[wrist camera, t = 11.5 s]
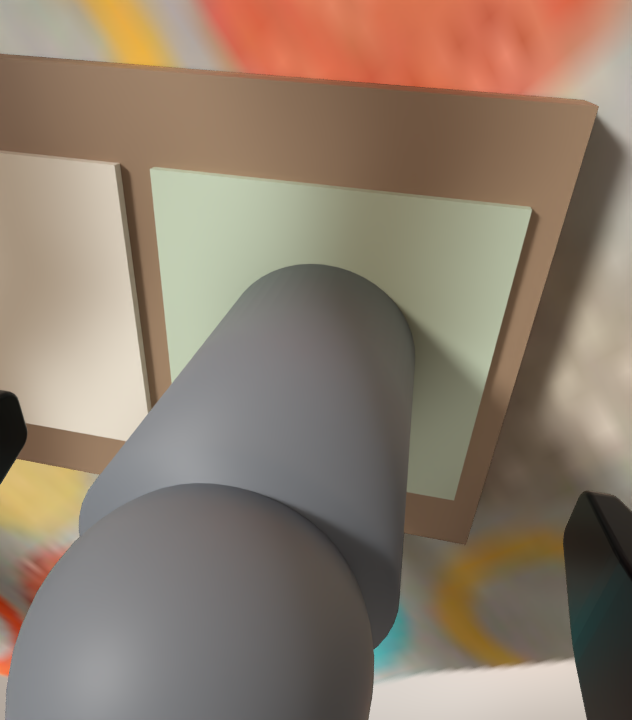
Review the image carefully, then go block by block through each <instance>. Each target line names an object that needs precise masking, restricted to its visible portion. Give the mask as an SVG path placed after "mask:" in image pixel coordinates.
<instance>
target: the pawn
mask: <svg viewBox="0 0 632 720" xmlns="http://www.w3.org/2000/svg"><path fill="white" fill-rule="evenodd" d="M414 371H415V346H414V341H413V336H412V333H411V330H410V328H409V325H408V323H407V321H406V319H405V317H404V315H403V313H402V312H401V311H400V309H399V308H398V306H397V305H396V304H395V302H394V301H393V300H392V299H391V298H390V297H389V296H388V295H387V294H386V293H385V292H384V291H383V290H381V289H380V288H379V287H378V286H376V285H375V284H374V283H372V282H370V281H369V280H367V279H366V278H364V277H362V276H360V275H358V274H356V273H353V272H351V271H348V270H345V269H342V268H339V267H334V266H329V265H323V264H299V265H293V266H288V267H284V268H281V269H278V270H275V271H272V272H270V273H268V274H267V275H265V276H263V277H261V278H260V279H258V280H257V281H255V282H254V283H253V284H252V285H250V286H249V287H248V288H247V289H246V290H245V291H244V292H243V294H242V295H241V296H240V298H239V299H238V300H237V301H236V303H235V304H234V305H233V306H232V308H231V309H230V310H229V311H228V313H227V314H226V315H225V317H224V318H223V319H222V320H221V322H220V323H219V324H218V325H217V327H216V328H215V329H214V331H213V332H212V333H211V334H210V336H209V337H208V338H207V339H206V341H205V342H204V343H203V345H202V346H201V347H200V348H199V350H198V351H197V352H196V353H195V355H194V356H193V357H192V359H191V360H190V361H189V362H188V364H187V365H186V366H185V367H184V369H183V370H182V371H181V372H180V374H179V375H178V376H177V378H176V379H175V380H174V381H173V383H172V384H171V385H170V386H169V388H168V389H167V390H166V392H165V393H164V394H163V395H162V397H161V398H160V399H159V400H158V402H157V403H156V404H155V406H154V407H153V408H152V409H151V411H150V412H149V413H148V414H147V416H146V417H145V418H144V419H143V421H142V422H141V423H140V425H139V426H138V427H137V428H136V430H135V431H134V432H133V433H132V435H131V436H130V437H129V439H128V440H127V441H126V442H125V444H124V445H123V446H122V447H121V449H120V450H119V451H118V453H117V454H116V455H115V456H114V458H113V459H112V460H111V461H110V463H109V464H108V465H107V467H106V468H105V469H104V470H103V472H102V473H101V474H100V475H99V477H98V478H97V479H96V481H95V482H94V483H93V485H92V486H91V487H90V489H89V490H88V492H87V494H86V496H85V498H84V501H83V503H82V507H81V511H80V516H79V534H80V537H79V538H78V539H77V540H76V541H75V542H74V543H73V544H72V545H71V547H70V548H69V549H68V550H67V551H66V552H65V554H64V555H63V556H62V557H61V558H60V560H59V561H58V562H57V563H56V565H55V566H54V567H53V568H52V570H51V571H50V573H49V574H48V576H47V577H46V579H45V580H44V582H43V583H42V585H41V587H40V588H39V590H38V591H37V593H36V595H35V598H34V600H33V602H32V604H31V606H30V608H29V610H28V612H27V614H26V617H25V619H24V621H23V623H22V626H21V629H20V632H19V635H18V638H17V641H16V644H15V647H14V650H13V655H12V660H11V665H10V671H9V676H8V683H7V689H6V712H5V720H368V718H369V712H370V706H371V700H372V693H373V679H374V652H373V649H375V648H376V647H377V646H378V645H379V644H380V643H381V642H382V641H383V640H384V638H385V637H386V636H387V635H388V633H389V631H390V629H391V628H392V626H393V624H394V622H395V619H396V616H397V613H398V607H399V598H400V584H401V569H402V554H403V538H404V523H405V508H406V493H407V478H408V462H409V447H410V432H411V417H412V402H413V387H414Z"/></svg>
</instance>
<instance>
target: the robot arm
mask: <svg viewBox="0 0 632 720" xmlns="http://www.w3.org/2000/svg"><path fill="white" fill-rule="evenodd" d="M27 435H28V431H27V427H26V423H25V420H24V416H23V413H22V409H21V406H20V402H19V399H18V397H17V396H16V395H15V394H14V393H12V392H10V391H5V390H0V484H1V483H2V481H3V479H4V478H5V476H6V474H7V473H8V471H9V470H10V468H11V466H12V465H13V463H14V461H15V460H16V458H17V457H18V455H19V453H20V452H21V450H22V449H23V447H24V445H25V443H26V440H27ZM563 547H564V559H565V570H566V581H567V593H568V604H569V615H570V627H571V636H572V645H573V651H574V657H575V663H576V668H577V673H578V677H579V683H580V688H581V692H582V697H583V702H584V707H585V712H586V717H587V720H632V511H631V510H630V509H629V508H628V507H627V506H626V505H625V504H624V503H623V502H622V501H621V500H619V499H618V498H617V497H616V496H614V495H611V494H605V493H600V492H594V491H585V492H583V493H582V494H581V495H580V497H579V498H578V501H577V503H576V505H575V508H574V510H573V512H572V514H571V517H570V519H569V521H568V524H567V526H566V528H565V532H564V538H563Z"/></svg>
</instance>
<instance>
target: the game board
mask: <svg viewBox="0 0 632 720" xmlns="http://www.w3.org/2000/svg"><path fill="white" fill-rule="evenodd" d="M598 108H599V106H597V105H594V104H592V103H590V102H587V101H585V100H577V99H564V98H552V97H539V96H526V95H514V94H501V93H488V92H476V91H463V90H450V89H438V88H425V87H413V86H400V85H387V84H375V83H362V82H349V81H337V80H324V79H311V78H299V77H286V76H274V75H261V74H248V73H236V72H223V71H210V70H198V69H185V68H172V67H160V66H147V65H135V64H122V63H109V62H97V61H84V60H71V59H59V58H46V57H33V56H21V55H8V54H0V390H5V391H10V392H12V393H14V394H15V395H16V396H17V397H18V399H19V402H20V406H21V409H22V413H23V416H24V420H25V423H26V427H27V431H28V435H27V440H26V443H25V445H24V447H23V449H22V450H21V452H20V453H19V455H18V457H17V458H16V459H21V460H26V461H31V462H37V463H42V464H47V465H52V466H58V467H63V468H68V469H73V470H78V471H84V472H89V473H94V474H99V475H100V474H101V473H102V472H103V470H104V469H105V468H106V467H107V465H108V464H109V463H110V461H111V460H112V459H113V458H114V456H115V455H116V454H117V453H118V451H119V450H120V449H121V447H122V446H123V445H124V444H125V442H126V441H127V440H128V439H129V437H130V436H131V435H132V433H133V432H134V431H135V430H136V428H137V427H138V426H139V425H140V423H141V422H142V421H143V419H144V418H145V417H146V416H147V414H148V413H149V412H150V411H151V409H152V408H153V407H154V406H155V404H156V403H157V402H158V400H159V399H160V398H161V397H162V395H163V394H164V393H165V392H166V390H167V389H168V388H169V386H170V385H171V384H172V383H173V381H174V380H175V379H176V378H177V376H178V375H179V374H180V372H181V371H182V370H183V369H184V367H185V366H186V365H187V364H188V362H189V361H190V360H191V359H192V357H193V356H194V355H195V353H196V352H197V351H198V350H199V348H200V347H201V346H202V345H203V343H204V342H205V341H206V339H207V338H208V337H209V336H210V334H211V333H212V332H213V331H214V329H215V328H216V327H217V325H218V324H219V323H220V322H221V320H222V319H223V318H224V317H225V315H226V314H227V313H228V311H229V310H230V309H231V308H232V306H233V305H234V304H235V303H236V301H237V300H238V299H239V298H240V296H241V295H242V294H243V292H244V291H245V290H246V289H247V288H248V287H249V286H250V285H252V284H253V283H254V282H255V281H257V280H258V279H260V278H261V277H263V276H265V275H267V274H268V273H270V272H272V271H275V270H278V269H281V268H284V267H288V266H293V265H299V264H323V265H329V266H334V267H339V268H342V269H345V270H348V271H351V272H353V273H356V274H358V275H360V276H362V277H364V278H366V279H367V280H369V281H370V282H372V283H374V284H375V285H376V286H378V287H379V288H380V289H381V290H383V291H384V292H385V293H386V294H387V295H388V296H389V297H390V298H391V299H392V300H393V301H394V302H395V304H396V305H397V306H398V308H399V309H400V311H401V312H402V313H403V315H404V317H405V319H406V321H407V323H408V325H409V328H410V330H411V333H412V336H413V341H414V346H415V371H414V387H413V402H412V417H411V432H410V447H409V462H408V478H407V493H406V508H405V523H404V533H407V534H413V535H418V536H423V537H428V538H433V539H439V540H444V541H449V542H454V543H460V544H465V545H466V542H467V539H468V536H469V532H470V529H471V526H472V523H473V519H474V516H475V513H476V509H477V506H478V503H479V500H480V496H481V493H482V490H483V486H484V483H485V480H486V476H487V473H488V470H489V467H490V463H491V460H492V457H493V453H494V450H495V447H496V444H497V440H498V437H499V434H500V430H501V427H502V424H503V420H504V417H505V414H506V411H507V407H508V404H509V401H510V397H511V394H512V391H513V388H514V384H515V381H516V378H517V374H518V371H519V368H520V364H521V361H522V358H523V355H524V351H525V348H526V345H527V341H528V338H529V335H530V332H531V328H532V325H533V322H534V318H535V315H536V312H537V308H538V305H539V302H540V299H541V295H542V292H543V289H544V285H545V282H546V279H547V276H548V272H549V269H550V266H551V262H552V259H553V256H554V252H555V249H556V246H557V243H558V239H559V236H560V233H561V229H562V226H563V223H564V220H565V216H566V213H567V210H568V206H569V203H570V200H571V196H572V193H573V190H574V187H575V183H576V180H577V177H578V173H579V170H580V167H581V164H582V160H583V157H584V154H585V150H586V147H587V144H588V140H589V137H590V134H591V131H592V127H593V124H594V121H595V117H596V114H597V111H598Z"/></svg>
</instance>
